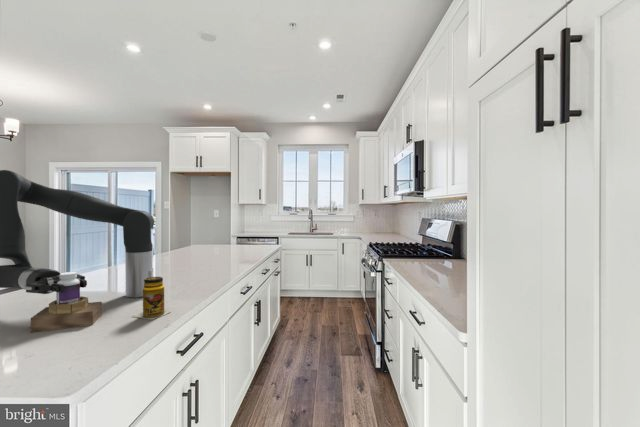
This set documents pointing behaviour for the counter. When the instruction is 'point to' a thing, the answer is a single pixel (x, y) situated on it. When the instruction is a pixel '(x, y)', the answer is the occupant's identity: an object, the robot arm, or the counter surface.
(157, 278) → the condiment
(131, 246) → the robot arm
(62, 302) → the pill bottle
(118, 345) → the counter surface
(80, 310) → the wooden bottle holder
